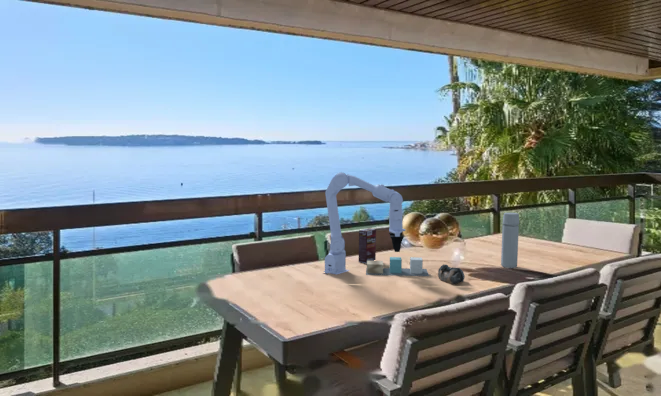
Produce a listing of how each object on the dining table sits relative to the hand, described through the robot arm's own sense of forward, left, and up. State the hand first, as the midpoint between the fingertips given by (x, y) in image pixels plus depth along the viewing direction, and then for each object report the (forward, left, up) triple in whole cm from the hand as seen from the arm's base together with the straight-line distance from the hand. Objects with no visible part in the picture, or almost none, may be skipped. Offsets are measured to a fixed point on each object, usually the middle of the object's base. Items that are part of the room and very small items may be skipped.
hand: (396, 250), depth 223 cm
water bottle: (+42, -36, -10) cm, 56 cm away
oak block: (-6, +7, -10) cm, 13 cm away
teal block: (-1, 0, -10) cm, 10 cm away
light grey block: (+4, -8, -10) cm, 13 cm away
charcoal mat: (-1, -1, -10) cm, 10 cm away
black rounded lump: (-2, -26, -11) cm, 28 cm away
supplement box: (+9, +21, -10) cm, 25 cm away
